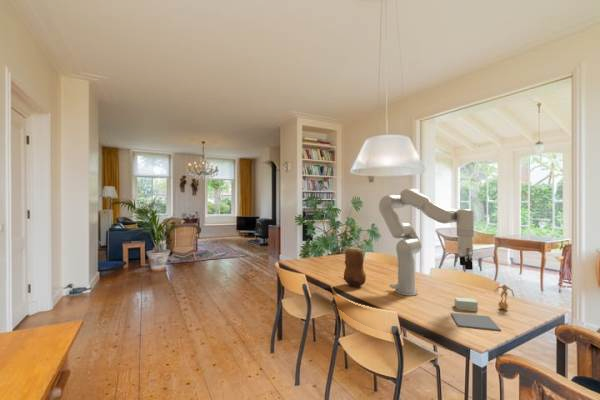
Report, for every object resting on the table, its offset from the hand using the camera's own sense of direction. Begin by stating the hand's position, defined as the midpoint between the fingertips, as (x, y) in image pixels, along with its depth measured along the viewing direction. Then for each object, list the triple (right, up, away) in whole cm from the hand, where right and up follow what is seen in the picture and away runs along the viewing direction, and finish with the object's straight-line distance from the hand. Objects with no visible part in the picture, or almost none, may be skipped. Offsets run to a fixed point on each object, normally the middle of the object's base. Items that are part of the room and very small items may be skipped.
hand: (466, 267), depth 142 cm
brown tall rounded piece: (-49, -22, +39) cm, 66 cm away
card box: (0, -21, 0) cm, 21 cm away
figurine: (+18, -21, -1) cm, 28 cm away
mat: (-6, -21, -16) cm, 27 cm away
